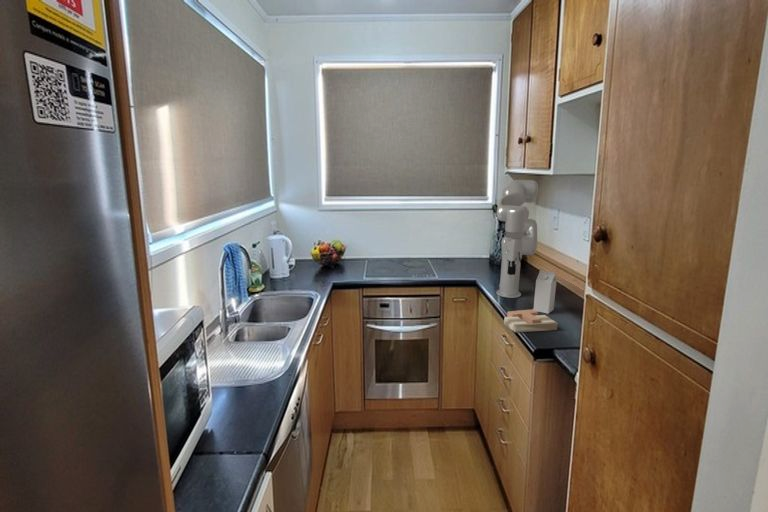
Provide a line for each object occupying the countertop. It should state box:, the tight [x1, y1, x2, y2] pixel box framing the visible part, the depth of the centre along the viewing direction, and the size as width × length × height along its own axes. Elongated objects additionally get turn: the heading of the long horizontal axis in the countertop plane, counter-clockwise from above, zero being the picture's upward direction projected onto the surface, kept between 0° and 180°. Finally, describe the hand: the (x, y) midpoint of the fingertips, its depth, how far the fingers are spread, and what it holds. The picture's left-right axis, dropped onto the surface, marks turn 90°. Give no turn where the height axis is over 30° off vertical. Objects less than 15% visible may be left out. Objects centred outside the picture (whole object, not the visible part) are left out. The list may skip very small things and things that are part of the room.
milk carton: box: [532, 269, 558, 314], centre depth 204 cm, size 7×7×19 cm
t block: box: [506, 308, 541, 323], centre depth 189 cm, size 12×13×4 cm
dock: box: [503, 314, 559, 333], centre depth 185 cm, size 10×19×3 cm, turn 101°
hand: (511, 274), depth 202 cm, fingers closed
